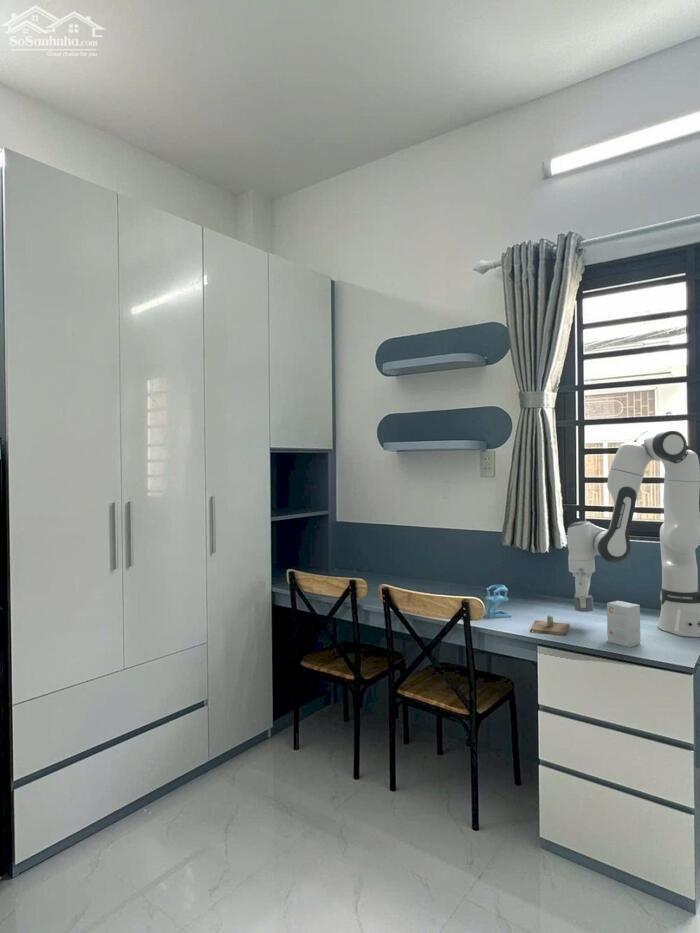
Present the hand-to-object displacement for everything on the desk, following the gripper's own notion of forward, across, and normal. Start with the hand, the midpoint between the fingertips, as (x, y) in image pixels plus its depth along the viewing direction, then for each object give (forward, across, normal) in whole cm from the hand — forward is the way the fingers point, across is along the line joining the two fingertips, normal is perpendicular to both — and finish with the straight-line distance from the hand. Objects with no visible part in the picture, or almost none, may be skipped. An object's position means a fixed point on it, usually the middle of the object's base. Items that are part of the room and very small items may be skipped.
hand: (584, 605), depth 211 cm
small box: (+9, -12, -12) cm, 20 cm away
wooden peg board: (+8, -5, +12) cm, 15 cm away
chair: (+7, +6, +32) cm, 34 cm away
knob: (+2, 0, 0) cm, 2 cm away
